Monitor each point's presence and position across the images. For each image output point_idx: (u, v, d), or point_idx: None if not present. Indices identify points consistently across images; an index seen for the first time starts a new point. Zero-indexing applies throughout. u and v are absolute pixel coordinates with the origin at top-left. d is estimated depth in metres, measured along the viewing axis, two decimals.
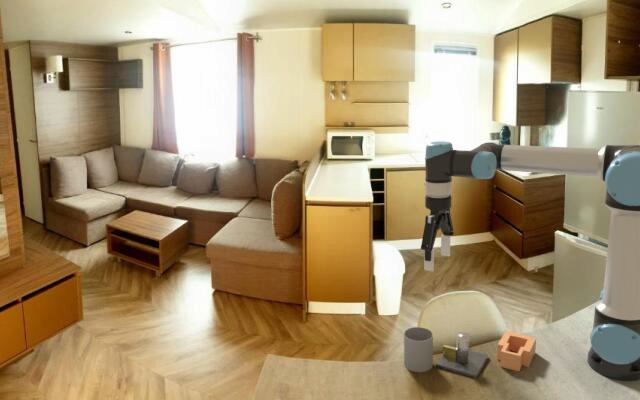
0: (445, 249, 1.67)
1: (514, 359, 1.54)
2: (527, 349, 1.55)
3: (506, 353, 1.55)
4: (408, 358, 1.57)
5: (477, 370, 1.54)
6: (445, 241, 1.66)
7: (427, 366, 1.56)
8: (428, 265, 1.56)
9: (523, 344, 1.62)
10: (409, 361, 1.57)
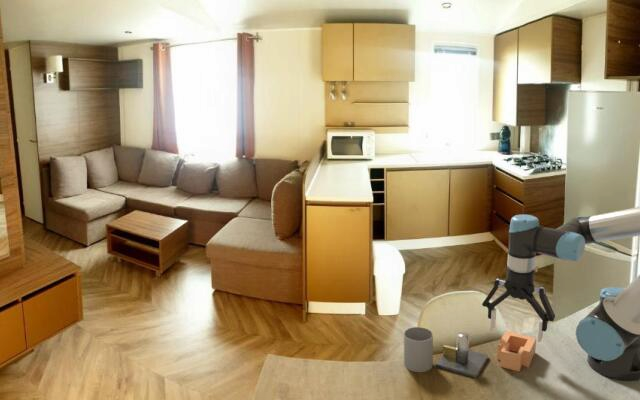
0: None
1: (514, 359, 1.54)
2: (527, 349, 1.55)
3: (506, 353, 1.55)
4: (408, 358, 1.57)
5: (477, 370, 1.54)
6: None
7: (427, 366, 1.56)
8: None
9: (523, 344, 1.62)
10: (409, 361, 1.57)
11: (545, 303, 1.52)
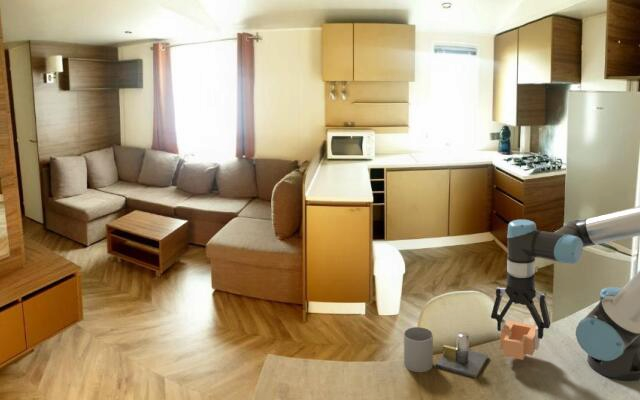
0: None
1: (517, 347, 1.52)
2: (530, 337, 1.54)
3: (509, 341, 1.53)
4: (408, 358, 1.57)
5: (477, 370, 1.54)
6: None
7: (427, 366, 1.56)
8: None
9: (526, 333, 1.61)
10: (409, 361, 1.57)
11: (544, 310, 1.52)
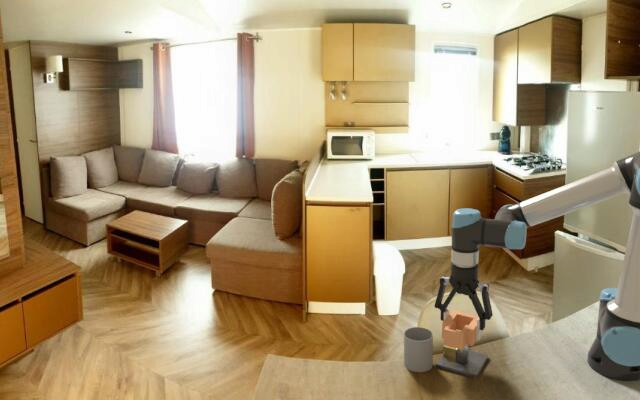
0: None
1: (457, 337, 1.49)
2: (471, 328, 1.51)
3: (449, 331, 1.50)
4: (408, 358, 1.57)
5: (477, 370, 1.54)
6: None
7: (427, 366, 1.56)
8: None
9: (469, 323, 1.58)
10: (409, 361, 1.57)
11: (485, 301, 1.50)
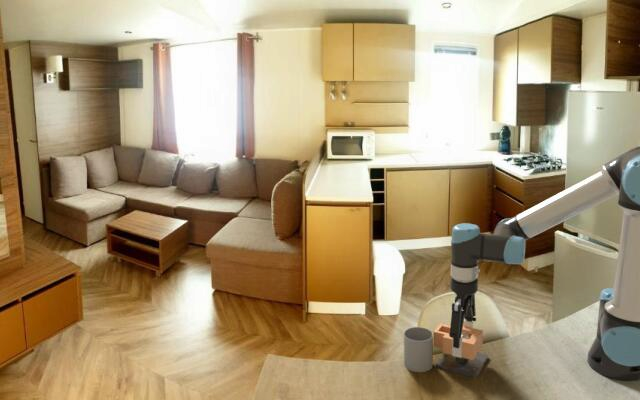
0: None
1: None
2: (446, 336, 1.56)
3: (438, 326, 1.62)
4: (408, 358, 1.57)
5: (477, 370, 1.54)
6: None
7: (427, 366, 1.56)
8: None
9: None
10: (409, 361, 1.57)
11: None
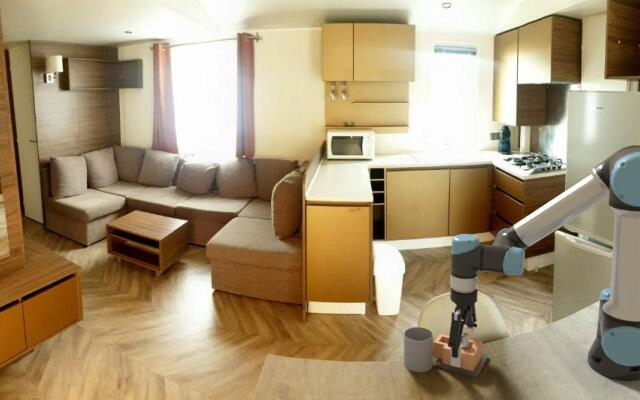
0: None
1: None
2: (446, 347, 1.57)
3: (438, 337, 1.63)
4: (408, 358, 1.57)
5: (477, 370, 1.54)
6: None
7: (427, 366, 1.56)
8: None
9: None
10: (409, 361, 1.57)
11: None
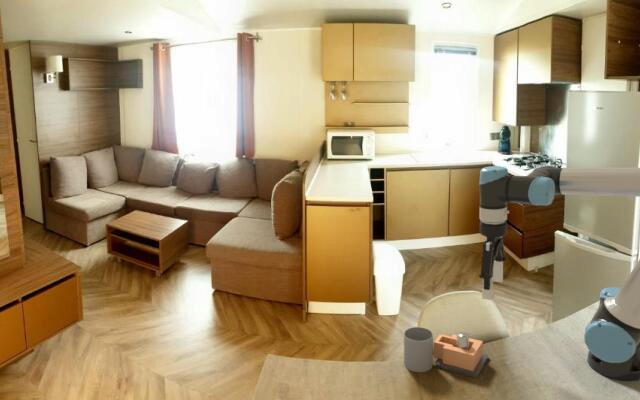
0: None
1: None
2: (446, 347, 1.57)
3: (438, 337, 1.63)
4: (408, 358, 1.57)
5: (477, 370, 1.54)
6: None
7: (427, 366, 1.56)
8: None
9: None
10: (409, 361, 1.57)
11: None
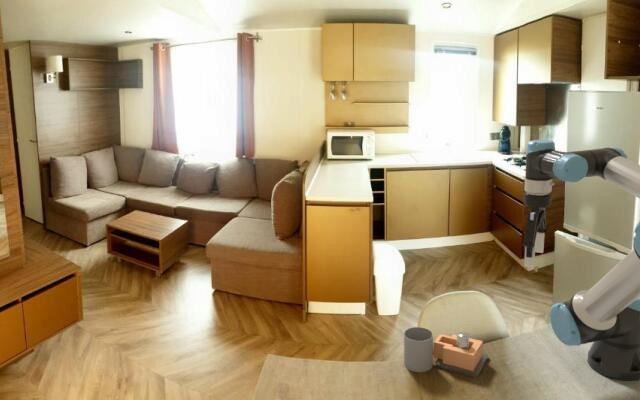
0: None
1: None
2: (446, 347, 1.57)
3: (438, 337, 1.63)
4: (408, 358, 1.57)
5: (477, 370, 1.54)
6: None
7: (427, 366, 1.56)
8: None
9: None
10: (409, 361, 1.57)
11: None
